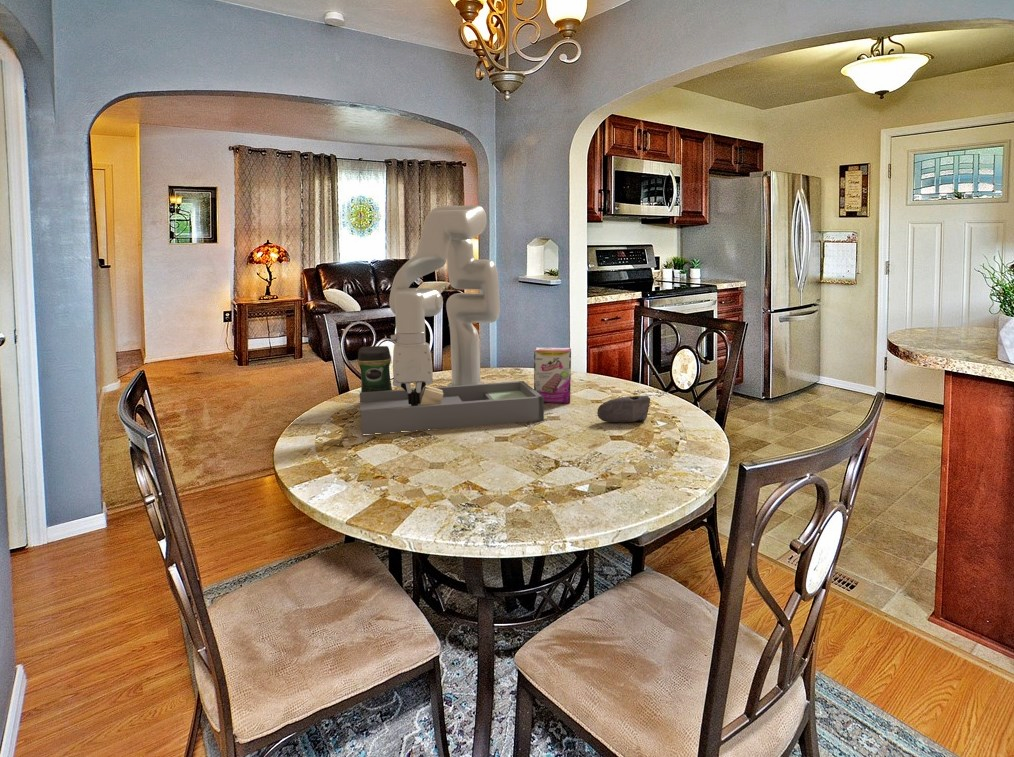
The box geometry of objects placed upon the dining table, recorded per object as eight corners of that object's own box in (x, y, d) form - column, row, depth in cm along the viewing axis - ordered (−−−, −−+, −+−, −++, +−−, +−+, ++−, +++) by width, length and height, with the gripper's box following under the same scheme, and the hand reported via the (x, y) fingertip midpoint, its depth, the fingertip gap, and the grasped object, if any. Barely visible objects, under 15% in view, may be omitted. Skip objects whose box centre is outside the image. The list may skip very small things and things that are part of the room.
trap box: (361, 414, 179) (359, 392, 177) (523, 401, 190) (523, 380, 188) (362, 436, 159) (360, 411, 157) (543, 420, 170) (543, 397, 169)
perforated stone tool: (599, 425, 164) (599, 400, 163) (594, 420, 170) (595, 395, 168) (654, 423, 166) (655, 398, 164) (648, 418, 171) (649, 393, 169)
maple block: (419, 402, 169) (424, 385, 168) (436, 407, 170) (442, 390, 169) (419, 406, 164) (425, 389, 163) (437, 412, 165) (443, 394, 164)
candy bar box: (533, 403, 188) (533, 350, 184) (534, 399, 192) (534, 347, 189) (570, 403, 186) (571, 350, 183) (570, 399, 191) (571, 347, 188)
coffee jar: (395, 403, 190) (391, 343, 186) (392, 410, 183) (389, 348, 179) (363, 404, 190) (359, 344, 185) (359, 411, 182) (355, 349, 178)
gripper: (382, 342, 157) (386, 412, 161) (441, 339, 161) (443, 407, 165) (381, 338, 164) (385, 405, 168) (437, 335, 168) (440, 401, 172)
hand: (414, 406), depth 167 cm, fingers closed
